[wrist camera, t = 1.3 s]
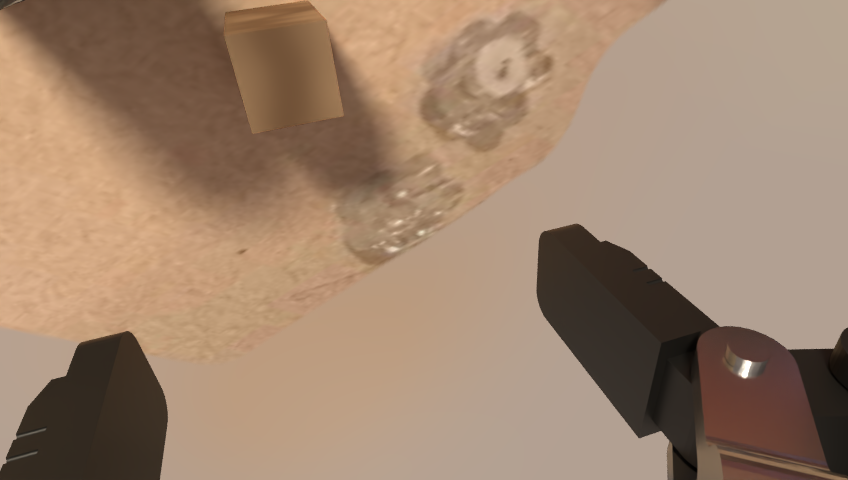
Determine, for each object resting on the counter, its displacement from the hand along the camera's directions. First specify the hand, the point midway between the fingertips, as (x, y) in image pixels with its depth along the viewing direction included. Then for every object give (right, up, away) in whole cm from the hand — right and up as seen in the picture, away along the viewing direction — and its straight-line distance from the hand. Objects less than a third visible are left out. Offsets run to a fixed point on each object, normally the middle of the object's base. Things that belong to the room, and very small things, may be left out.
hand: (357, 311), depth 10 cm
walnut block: (-8, +14, +23) cm, 28 cm away
